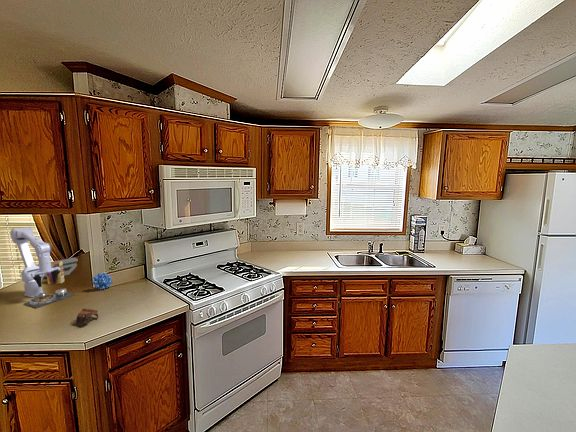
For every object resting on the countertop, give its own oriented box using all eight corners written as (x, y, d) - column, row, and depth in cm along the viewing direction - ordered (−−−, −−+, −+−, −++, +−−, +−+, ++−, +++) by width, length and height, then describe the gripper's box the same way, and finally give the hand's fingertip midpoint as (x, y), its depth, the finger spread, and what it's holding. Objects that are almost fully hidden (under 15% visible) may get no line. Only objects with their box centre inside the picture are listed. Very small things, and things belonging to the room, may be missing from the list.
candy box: (65, 281, 211) (62, 261, 209) (61, 283, 206) (59, 262, 204) (51, 282, 209) (49, 261, 207) (47, 284, 205) (45, 263, 203)
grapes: (95, 293, 187) (93, 276, 186) (92, 291, 192) (90, 273, 190) (115, 288, 196) (113, 271, 195) (111, 286, 201) (110, 269, 199)
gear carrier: (24, 304, 172) (23, 298, 171) (61, 292, 190) (60, 286, 190) (36, 308, 167) (35, 301, 166) (73, 295, 185) (73, 289, 185)
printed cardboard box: (39, 281, 211) (37, 266, 210) (36, 279, 216) (34, 265, 215) (79, 272, 231) (77, 259, 230) (75, 270, 236) (74, 257, 235)
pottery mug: (72, 323, 150) (79, 307, 153) (92, 326, 156) (98, 310, 159) (75, 326, 141) (82, 308, 144) (97, 328, 147) (103, 311, 150)
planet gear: (30, 302, 173) (30, 294, 173) (47, 296, 181) (46, 289, 180) (38, 304, 170) (37, 297, 169) (55, 299, 177) (54, 292, 177)
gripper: (34, 267, 169) (36, 289, 171) (61, 260, 182) (64, 281, 184) (27, 266, 172) (30, 287, 173) (55, 259, 185) (57, 280, 187)
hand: (47, 284), depth 179 cm, fingers open, 7 cm apart
